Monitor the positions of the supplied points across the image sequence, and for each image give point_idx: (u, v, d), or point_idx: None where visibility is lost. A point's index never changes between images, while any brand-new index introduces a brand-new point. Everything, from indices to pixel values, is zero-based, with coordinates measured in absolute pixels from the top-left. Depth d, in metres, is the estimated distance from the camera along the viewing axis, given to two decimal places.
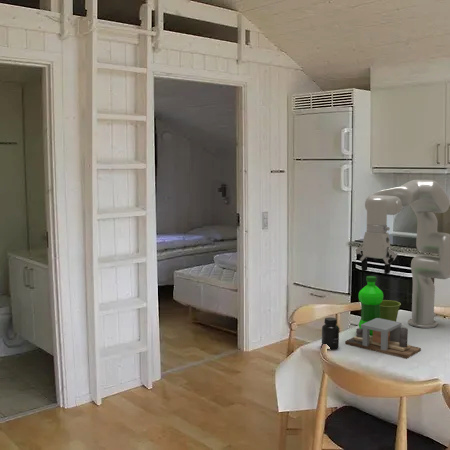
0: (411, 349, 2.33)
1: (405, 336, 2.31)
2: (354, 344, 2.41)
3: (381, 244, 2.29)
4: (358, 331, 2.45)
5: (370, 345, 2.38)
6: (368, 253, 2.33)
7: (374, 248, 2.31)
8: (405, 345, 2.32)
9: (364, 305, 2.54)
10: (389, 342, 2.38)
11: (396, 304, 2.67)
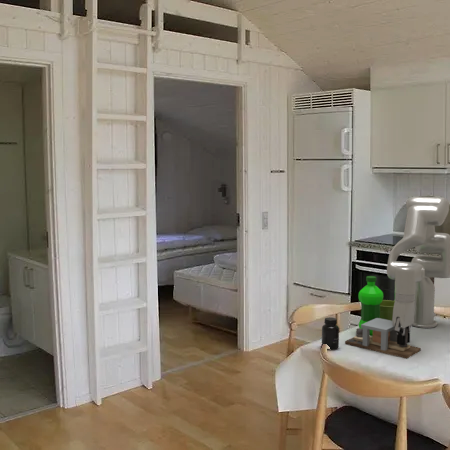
0: (411, 349, 2.33)
1: None
2: (354, 344, 2.41)
3: (413, 310, 2.33)
4: (358, 331, 2.45)
5: (370, 345, 2.38)
6: (406, 323, 2.29)
7: (410, 316, 2.31)
8: (405, 345, 2.32)
9: (364, 305, 2.54)
10: (389, 342, 2.38)
11: None
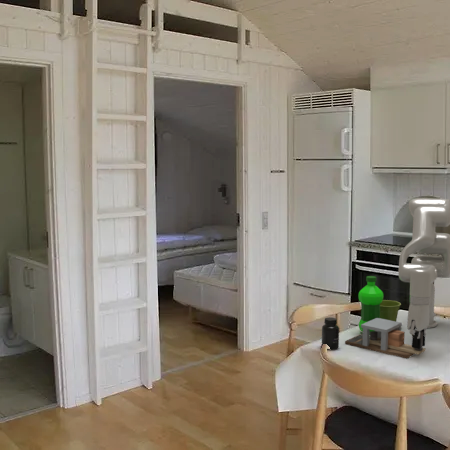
0: None
1: None
2: (354, 344, 2.41)
3: (428, 313, 2.28)
4: (372, 334, 2.41)
5: (370, 345, 2.38)
6: (422, 326, 2.25)
7: (426, 319, 2.27)
8: (420, 348, 2.28)
9: (364, 305, 2.54)
10: (404, 345, 2.34)
11: (396, 304, 2.67)
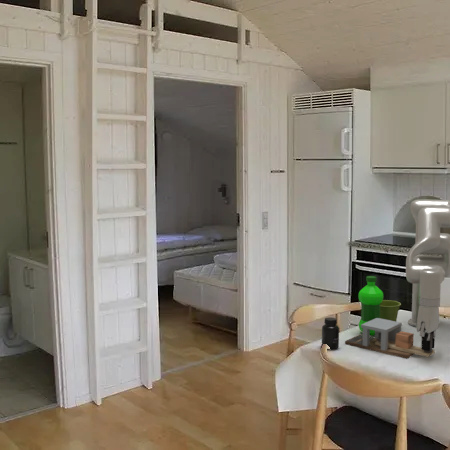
0: None
1: (430, 341, 2.25)
2: (354, 344, 2.41)
3: (438, 315, 2.26)
4: (380, 336, 2.38)
5: (370, 345, 2.38)
6: (431, 328, 2.22)
7: (435, 321, 2.24)
8: (430, 351, 2.25)
9: (364, 305, 2.54)
10: (413, 347, 2.31)
11: (396, 304, 2.67)
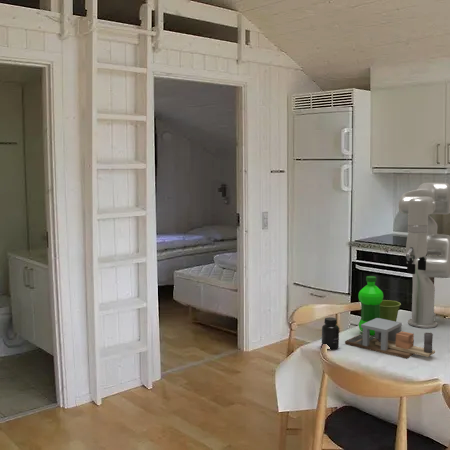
0: None
1: (430, 341, 2.25)
2: (354, 344, 2.41)
3: (426, 242, 2.38)
4: (380, 336, 2.38)
5: (370, 345, 2.38)
6: (419, 254, 2.34)
7: (423, 248, 2.36)
8: (430, 351, 2.25)
9: (364, 305, 2.54)
10: (413, 347, 2.31)
11: (396, 304, 2.67)
